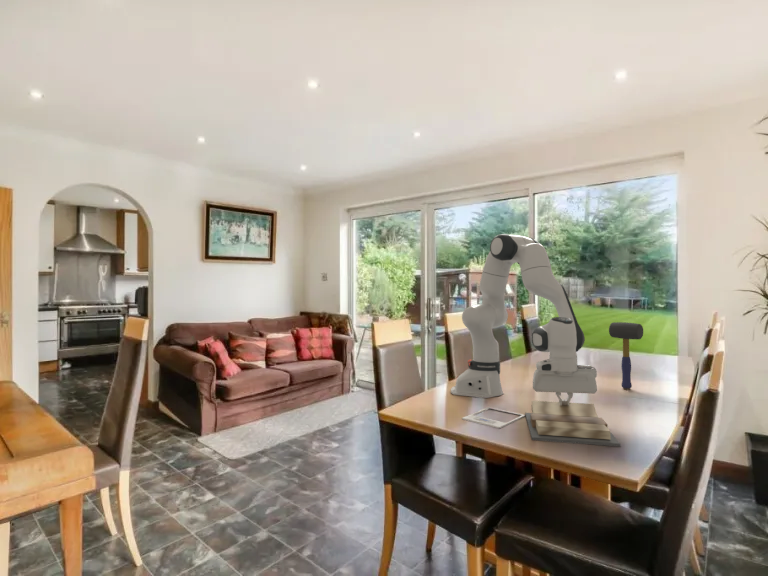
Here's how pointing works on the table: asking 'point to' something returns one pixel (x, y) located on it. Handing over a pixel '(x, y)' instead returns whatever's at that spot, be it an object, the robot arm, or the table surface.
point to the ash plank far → (563, 409)
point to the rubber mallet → (626, 346)
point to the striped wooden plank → (566, 419)
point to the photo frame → (489, 421)
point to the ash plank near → (573, 429)
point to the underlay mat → (569, 439)
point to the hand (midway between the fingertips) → (564, 405)
